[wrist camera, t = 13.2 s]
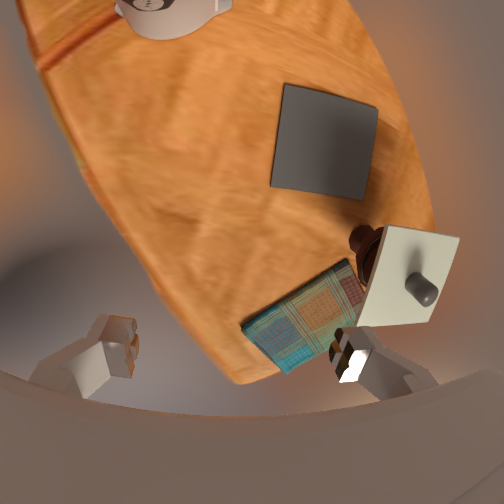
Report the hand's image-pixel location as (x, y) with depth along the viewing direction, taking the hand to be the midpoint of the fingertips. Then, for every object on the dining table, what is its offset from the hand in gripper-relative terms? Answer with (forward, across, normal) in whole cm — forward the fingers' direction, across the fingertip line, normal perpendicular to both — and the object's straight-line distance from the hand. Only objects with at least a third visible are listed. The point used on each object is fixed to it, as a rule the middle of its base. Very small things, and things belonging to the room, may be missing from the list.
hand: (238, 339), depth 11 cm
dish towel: (+34, -19, +24) cm, 46 cm away
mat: (+33, -15, -9) cm, 37 cm away
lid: (+18, -25, +6) cm, 31 cm away
